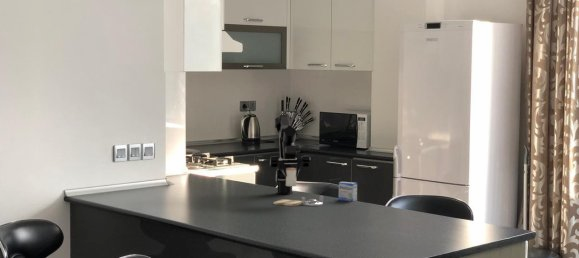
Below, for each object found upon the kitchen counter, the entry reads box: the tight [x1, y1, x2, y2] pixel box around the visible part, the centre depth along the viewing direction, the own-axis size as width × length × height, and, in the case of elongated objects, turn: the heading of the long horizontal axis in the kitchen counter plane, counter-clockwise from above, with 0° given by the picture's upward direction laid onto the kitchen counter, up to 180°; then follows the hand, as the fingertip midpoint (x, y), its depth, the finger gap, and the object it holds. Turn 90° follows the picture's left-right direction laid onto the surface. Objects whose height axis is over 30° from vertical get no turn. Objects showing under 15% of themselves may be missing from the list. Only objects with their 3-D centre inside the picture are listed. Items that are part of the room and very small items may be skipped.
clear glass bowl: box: [301, 195, 324, 207], centre depth 374 cm, size 10×10×4 cm
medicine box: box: [338, 181, 358, 202], centre depth 385 cm, size 8×4×9 cm, turn 62°
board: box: [273, 198, 302, 207], centre depth 375 cm, size 11×9×1 cm
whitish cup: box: [286, 167, 297, 187], centre depth 373 cm, size 5×5×8 cm
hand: (291, 176), depth 371 cm, fingers closed on whitish cup, 5 cm apart
